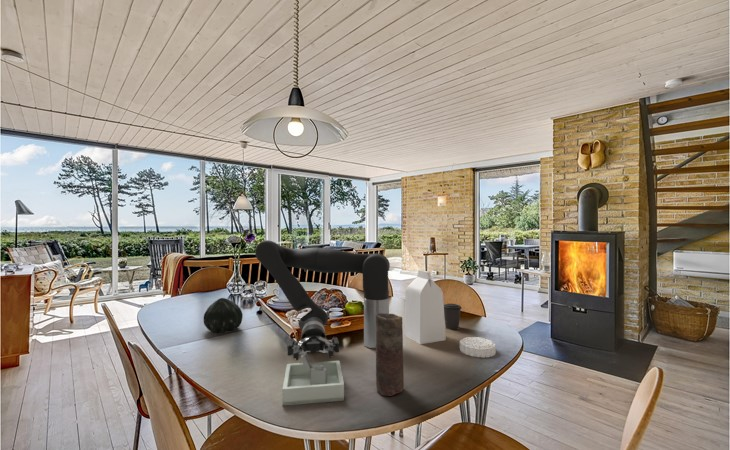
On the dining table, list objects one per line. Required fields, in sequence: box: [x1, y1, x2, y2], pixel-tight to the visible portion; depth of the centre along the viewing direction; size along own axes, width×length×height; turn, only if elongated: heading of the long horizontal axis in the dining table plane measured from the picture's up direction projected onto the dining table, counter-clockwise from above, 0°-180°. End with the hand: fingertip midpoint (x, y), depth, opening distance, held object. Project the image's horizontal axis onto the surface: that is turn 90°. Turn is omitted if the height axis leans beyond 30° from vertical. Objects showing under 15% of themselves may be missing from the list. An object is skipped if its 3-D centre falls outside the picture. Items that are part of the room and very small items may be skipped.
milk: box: [403, 269, 446, 345], centre depth 130 cm, size 12×12×26 cm
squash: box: [203, 297, 244, 335], centre depth 138 cm, size 14×15×15 cm
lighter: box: [299, 352, 327, 385], centre depth 90 cm, size 7×2×8 cm, turn 80°
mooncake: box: [459, 336, 497, 359], centre depth 116 cm, size 12×12×4 cm
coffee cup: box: [444, 303, 462, 330], centre depth 143 cm, size 8×8×10 cm
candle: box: [375, 313, 405, 397], centre depth 88 cm, size 8×7×20 cm
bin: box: [281, 360, 345, 407], centre depth 89 cm, size 15×15×4 cm
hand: (313, 355), depth 87 cm, fingers open, 8 cm apart
